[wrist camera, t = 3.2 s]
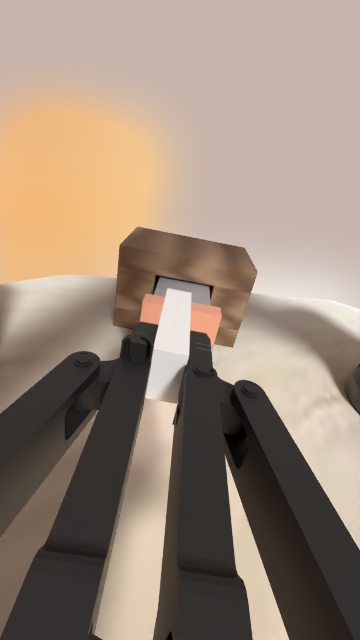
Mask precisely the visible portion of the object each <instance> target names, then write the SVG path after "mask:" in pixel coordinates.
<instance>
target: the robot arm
mask: <svg viewBox="0 0 360 640" xmlns="http://www.w3.org/2000/svg"><path fill="white" fill-rule="evenodd" d="M191 294H192V293H189V292H184V291H179V290H174V289H169V288H167V292H166V296H165V301H164V305H163V309H162V313H161V317H160V322H159V325H157V324H152V323H147V322H139V323H138V324H136V325H135V327H134V330H133V332H132V335H128V336H126V337H124V338H123V340H122V345H121V354H120V358H118V359H115V360H111V361H100V358H99V357H98V356H97V355H96V354H94V353H92V352H87V351H80V352H76V353H73V354H71V355H69V356H68V357H67V358H66V359H64V360H63V361H62V362H61V363H60V364H59V365H57V366H56V367H55V368H54V369H53V370H51V371H50V372H49V373H48V374H47V375H46V376H44V377H43V378H42V379H41V380H40V381H38V382H37V383H36V384H35V385H34V386H33V387H31V388H30V389H29V390H28V391H27V392H26V393H24V394H23V395H22V396H21V397H20V398H18V399H17V400H16V401H15V402H14V403H13V404H11V405H10V406H9V407H8V408H7V409H5V410H4V411H3V412H2V413H1V414H0V537H1V535H2V534H3V533H4V532H5V530H6V529H7V528H8V526H9V525H10V524H11V522H12V521H13V520H14V519H15V517H16V516H17V515H18V513H19V512H20V511H21V509H22V508H23V507H24V506H25V504H26V503H27V502H28V500H29V499H30V498H31V496H32V495H33V494H34V493H35V491H36V490H37V489H38V487H39V486H40V485H41V483H42V482H43V481H44V480H45V478H46V477H47V476H48V474H49V473H50V472H51V470H52V469H53V468H54V467H55V465H56V464H57V463H58V461H59V460H60V459H61V457H62V456H63V455H64V453H65V452H66V451H67V450H68V448H69V447H70V446H71V444H72V443H73V442H74V440H75V439H76V438H77V437H78V435H79V434H80V433H81V431H82V430H83V429H84V427H85V426H86V425H87V424H88V422H89V421H90V420H91V418H92V417H93V416H94V414H95V413H96V411H97V410H99V411H98V414H97V416H96V419H95V421H94V424H93V426H92V429H91V431H90V434H89V436H88V439H87V441H86V444H85V446H84V449H83V451H82V454H81V456H80V459H79V461H78V464H77V467H76V469H75V472H74V474H73V477H72V479H71V482H70V484H69V487H68V489H67V492H66V494H65V497H64V499H63V502H62V504H61V507H60V509H59V512H58V514H57V517H56V519H55V522H54V524H53V527H52V529H51V532H50V534H49V537H48V539H47V541H46V543H45V545H44V546H43V547H41V548H40V549H39V550H38V552H37V554H36V555H35V557H34V559H33V561H32V564H31V566H30V568H29V570H28V573H27V575H26V577H25V580H24V582H23V585H22V587H21V589H20V592H19V594H18V597H17V599H16V602H15V604H14V606H13V609H12V611H11V614H10V616H9V618H8V621H7V623H6V626H5V628H4V631H3V633H2V635H1V638H0V640H102V639H100V638H99V637H97V636H95V635H94V633H95V628H96V623H97V618H98V613H99V608H100V603H101V598H102V593H103V589H104V584H105V580H106V575H107V570H108V566H109V561H110V557H111V552H112V547H113V543H114V538H115V534H116V529H117V525H118V520H119V515H120V511H121V506H122V502H123V497H124V492H125V488H126V483H127V479H128V474H129V470H130V465H131V460H132V456H133V451H134V447H135V442H136V437H137V433H138V428H139V424H140V419H141V415H142V410H143V405H144V399H145V398H148V399H154V400H159V401H165V402H170V403H176V404H177V401H178V405H177V409H176V413H175V416H174V420H173V425H174V435H173V446H172V458H171V469H170V480H169V491H168V503H167V514H166V525H165V536H164V548H163V559H162V570H161V581H160V593H159V603H158V611H157V618H156V623H155V629H154V636H153V640H253V639H252V630H251V622H250V613H249V605H248V598H247V592H246V588H245V585H244V582H243V580H242V579H241V578H240V577H239V575H238V574H237V571H236V566H235V557H234V547H233V536H232V526H231V515H230V505H229V494H228V484H227V473H226V463H225V456H226V459H227V462H228V465H229V467H230V470H231V473H232V476H233V479H234V482H235V485H236V488H237V490H238V493H239V496H240V499H241V502H242V505H243V508H244V511H245V513H246V516H247V519H248V522H249V525H250V528H251V531H252V534H253V536H254V539H255V542H256V545H257V548H258V551H259V554H260V557H261V559H262V562H263V565H264V568H265V571H266V574H267V577H268V580H269V582H270V585H271V588H272V591H273V594H274V597H275V600H276V603H277V605H278V608H279V611H280V614H281V617H282V620H283V623H284V626H285V628H286V631H287V634H288V637H289V640H360V550H359V548H358V547H357V545H356V543H355V542H354V540H353V538H352V537H351V535H350V533H349V532H348V530H347V528H346V527H345V525H344V523H343V522H342V520H341V518H340V517H339V515H338V513H337V512H336V510H335V508H334V507H333V505H332V503H331V502H330V500H329V498H328V497H327V495H326V493H325V492H324V490H323V488H322V487H321V485H320V483H319V482H318V480H317V478H316V477H315V475H314V473H313V472H312V470H311V468H310V467H309V465H308V463H307V462H306V460H305V458H304V457H303V455H302V453H301V452H300V450H299V448H298V447H297V445H296V443H295V442H294V440H293V438H292V437H291V435H290V433H289V432H288V430H287V428H286V427H285V425H284V423H283V422H282V420H281V418H280V417H279V415H278V413H277V412H276V410H275V408H274V407H273V405H272V403H271V402H270V400H269V398H268V397H267V395H266V393H265V392H264V390H263V389H262V388H261V387H260V386H259V385H257V384H256V383H253V382H251V381H247V380H240V381H237V382H236V383H235V385H232V384H230V383H227V382H225V381H223V380H221V379H220V378H219V377H218V376H217V373H216V370H215V369H214V368H213V365H212V352H211V340H210V338H209V337H208V335H207V334H206V333H202V332H197V331H192V330H190V319H191ZM345 387H346V392H347V395H348V397H349V399H350V401H351V402H352V404H353V405H354V407H355V408H356V409H357V410H358V412H359V413H360V364H358V365H357V366H356V367H355V368H354V369H353V371H352V372H351V374H350V376H349V377H348V379H347V381H346V385H345Z"/></svg>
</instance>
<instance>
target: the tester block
mask: <svg viewBox="0 0 360 640" xmlns="http://www.w3.org/2000/svg"><path fill="white" fill-rule="evenodd" d="M256 275H257V270H256V269H255V266H254V264H253V262H252V261H251V259H250V257H249V255H248V253H247V252H246V250H245V248H242V247H238V246H232V245H228V244H222V243H217V242H212V241H207V240H202V239H197V238H192V237H187V236H182V235H177V234H172V233H166V232H161V231H157V230H152V229H147V228H141V227H137V228H136V229H135V230H134V231H133V232H132V233H131V234H130V235H129V236H128V237H127V238H126V239H125V240H124V241H123V242H122V243H121V244H120V248H119V261H118V274H117V287H116V300H115V313H114V326H120V327H125V328H131V329H134V327H135V325H136V324H138V323H139V322H140V317H141V309H142V302H143V299H144V297H145V294H152V295H154V292H155V290H156V287H157V284H158V281H159V278H160V276H165V277H170V278H176V279H181V280H186V281H191V282H196V283H202V284H207V285H209V291H210V302H211V306H215V307H220V308H221V315H222V317H221V321H220V324H219V328H218V331H217V335H216V338H215V342H214V344H218V345H223V346H228V347H233V345H234V342H235V339H236V336H237V333H238V330H239V327H240V324H241V321H242V318H243V315H244V312H245V309H246V306H247V303H248V300H249V297H250V294H251V291H252V288H253V285H254V282H255V279H256Z"/></svg>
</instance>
